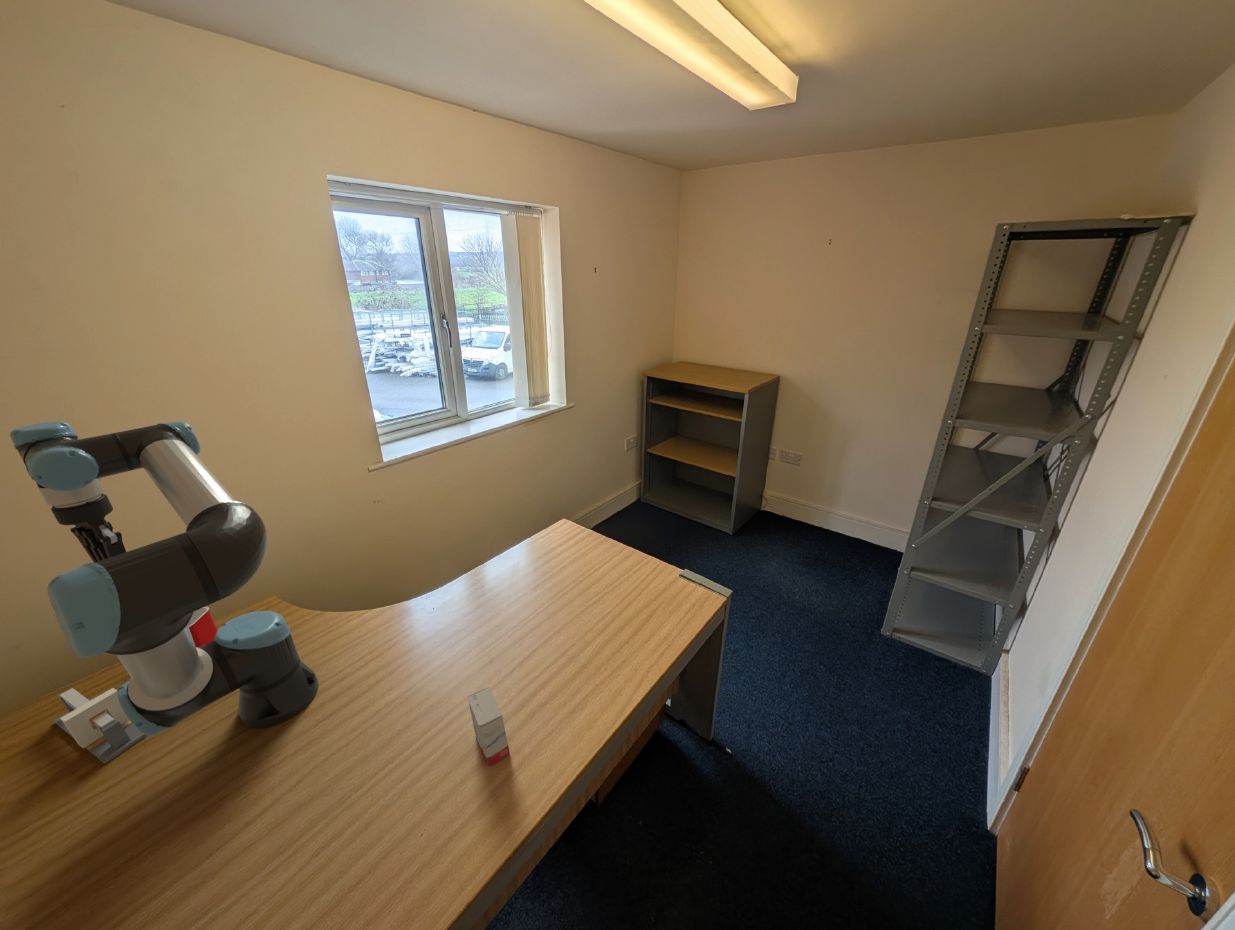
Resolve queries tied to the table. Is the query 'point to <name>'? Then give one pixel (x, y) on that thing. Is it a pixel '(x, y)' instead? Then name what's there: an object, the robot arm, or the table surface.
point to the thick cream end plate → (81, 715)
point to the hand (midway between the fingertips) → (129, 596)
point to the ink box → (488, 725)
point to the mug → (202, 627)
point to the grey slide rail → (102, 729)
